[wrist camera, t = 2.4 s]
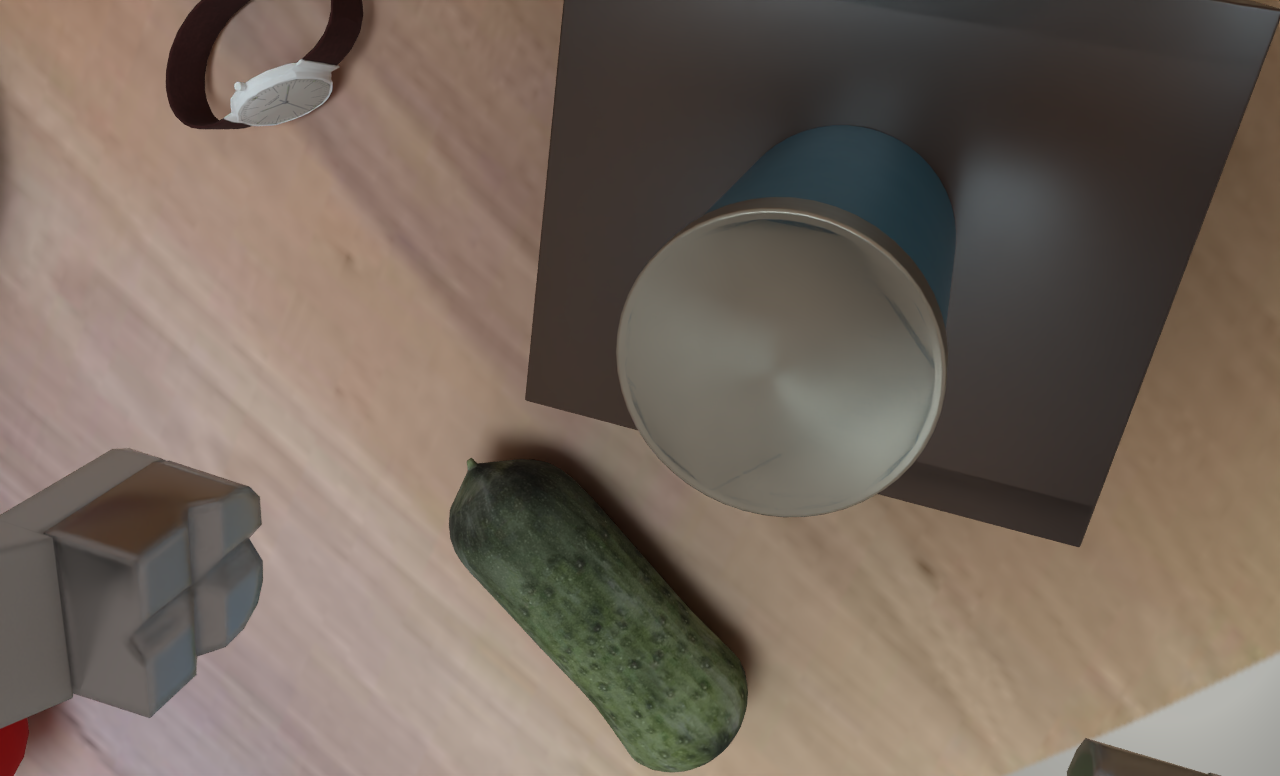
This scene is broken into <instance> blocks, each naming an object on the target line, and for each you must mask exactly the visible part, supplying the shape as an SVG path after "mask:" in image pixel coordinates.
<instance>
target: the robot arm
mask: <svg viewBox="0 0 1280 776" xmlns="http://www.w3.org/2000/svg"><path fill="white" fill-rule="evenodd" d="M261 525H262V522H261V508H260V497H259V496H258V495H257V494H256V493H255V492H254V491H253V490H252V489H251V488H250V487H249V486H246V485H243V484H240V483H236V482H233V481H230V480H227V479H224V478H221V477H218V476H215V475H212V474H209V473H206V472H203V471H200V470H197V469H194V468H190V467H187V466H184V465H181V464H178V463H175V462H172V461H166V460H163V459H161V458H158V457H155V456H152V455H149V454H145V453H142V452H139V451H136V450H133V449H129V448H127V449H112V450H110V451H108V452H107V453H105V454H103V455H101V456H100V457H98V458H96V459H95V460H93V461H91V462H90V463H88V464H86V465H84V466H83V467H81V468H79V469H78V470H76V471H74V472H73V473H71V474H69V475H68V476H66V477H64V478H62V479H61V480H59V481H57V482H56V483H54V484H52V485H51V486H49V487H47V488H45V489H44V490H42V491H40V492H39V493H37V494H35V495H34V496H32V497H30V498H28V499H27V500H25V501H23V502H22V503H20V504H18V505H17V506H15V507H13V508H11V509H10V510H8V511H6V512H5V513H3V514H1V515H0V729H1V728H3V727H6V726H8V725H10V724H13V723H15V722H17V721H20V720H22V719H24V718H27V717H29V716H31V715H34V714H36V713H38V712H41V711H43V710H45V709H48V708H50V707H52V706H55V705H57V704H60V703H62V702H64V701H67V700H69V699H71V698H72V697H73V693H74V694H77V695H80V696H83V697H86V698H90V699H93V700H96V701H99V702H102V703H105V704H108V705H111V706H114V707H117V708H120V709H123V710H127V711H130V712H133V713H136V714H139V715H142V716H145V717H148V718H151V717H152V716H153V715H154V714H155V713H156V712H157V711H158V710H159V709H160V708H161V707H162V706H163V705H164V704H165V703H167V702H168V701H169V700H170V699H171V698H172V697H173V696H174V695H175V694H176V693H177V692H178V691H179V690H180V689H181V688H183V687H184V686H185V685H186V684H187V683H188V682H189V681H190V680H191V679H192V678H193V677H194V676H195V675H196V669H197V656H200V655H203V654H206V653H209V652H212V651H215V650H218V649H221V648H224V647H226V646H227V645H228V644H229V643H230V642H231V641H232V640H233V639H234V638H235V637H236V636H237V635H238V634H239V633H240V632H241V631H242V630H243V629H244V627H245V626H246V624H247V622H248V620H249V618H250V617H251V615H252V613H253V611H254V609H255V607H256V606H257V604H258V600H259V596H260V591H261V587H262V582H263V561H262V559H261V558H260V556H259V554H258V553H257V551H256V549H255V548H254V546H253V544H252V543H251V541H250V539H249V538H250V537H251V536H252V535H253V534H254V532H255V531H256V530H257V529H258V528H259V527H260V526H261ZM1067 776H1220V775H1217V774H1213V773H1208V774H1205V773H1202V772H1198V771H1195V770H1192V769H1188V768H1185V767H1182V766H1178V765H1175V764H1172V763H1168V762H1165V761H1161V760H1158V759H1155V758H1151V757H1148V756H1145V755H1141V754H1138V753H1134V752H1131V751H1128V750H1124V749H1121V748H1117V747H1114V746H1111V745H1107V744H1104V743H1100V742H1097V741H1094V740H1090V739H1087V738H1085V739H1084V741H1083V742H1082V743H1081V745H1080V746H1079V747H1078V749H1077V750H1076V752H1075V755H1074V757H1073V759H1072V762H1071V764H1070V766H1069V768H1068V771H1067Z"/></svg>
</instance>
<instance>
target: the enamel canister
mask: <svg viewBox="0 0 1280 776" xmlns="http://www.w3.org/2000/svg"><path fill="white" fill-rule="evenodd" d="M955 244H956V228H955V219H954V214H953V210H952V205H951V203H950V200H949V197H948V195H947V192H946V190H945V188H944V186H943V184H942V183H941V181H940V179H939V177H938V176H937V175H936V173H935V172H934V170H933V169H932V168H931V166H930V165H929V164H928V163H927V162H926V161H925V160H924V159H923V158H922V157H921V156H920V155H919V154H918V153H916V152H915V151H914V150H913V149H911V148H910V147H909V146H907V145H906V144H904V143H903V142H901V141H899V140H897V139H896V138H894V137H892V136H889V135H887V134H884V133H882V132H880V131H876V130H872V129H869V128H865V127H858V126H850V125H832V126H825V127H817V128H814V129H810V130H807V131H803V132H801V133H798V134H796V135H793V136H791V137H789V138H787V139H785V140H784V141H782V142H780V143H779V144H777V145H775V146H774V147H773V148H772V149H770V150H769V151H768V152H766V153H765V154H764V155H763V156H762V157H761V158H760V159H759V160H758V161H757V162H756V163H755V164H754V165H753V166H752V167H751V168H750V169H749V170H748V171H747V172H746V173H745V174H744V175H743V176H742V177H741V178H740V179H739V180H738V181H737V182H736V183H735V184H734V185H733V186H732V187H731V188H730V189H729V190H728V191H727V192H726V193H725V194H724V195H723V196H722V197H721V198H720V199H719V200H718V201H717V202H716V203H715V204H714V205H713V206H712V207H711V208H710V209H709V210H708V211H707V212H706V213H705V214H704V215H703V216H702V217H700V218H698V219H697V220H695V221H693V222H691V223H690V224H689V225H687V226H686V227H685V228H683V229H682V230H681V231H680V232H678V233H677V234H676V235H674V236H673V237H672V238H671V239H670V240H669V241H668V242H667V243H666V244H665V245H664V246H663V247H662V248H661V249H660V250H659V251H658V252H657V253H656V254H655V255H654V256H653V257H652V259H651V260H650V261H649V262H648V263H647V265H646V266H645V267H644V269H643V270H642V271H641V273H640V274H639V276H638V277H637V279H636V281H635V282H634V284H633V286H632V288H631V290H630V292H629V294H628V296H627V299H626V302H625V305H624V307H623V310H622V313H621V318H620V323H619V327H618V332H617V347H616V356H617V371H618V376H619V381H620V386H621V391H622V394H623V397H624V400H625V403H626V406H627V409H628V411H629V413H630V415H631V417H632V419H633V421H634V424H635V426H636V428H637V429H638V431H639V432H640V434H641V435H642V437H643V438H644V440H645V442H646V443H647V445H648V446H649V447H650V448H651V449H652V451H653V452H654V453H655V454H656V456H657V457H658V458H659V459H660V460H661V461H662V462H663V463H664V464H665V465H666V466H667V467H668V468H669V469H670V470H671V471H672V472H673V473H674V474H676V475H677V476H678V477H680V478H681V479H682V480H683V481H685V482H686V483H687V484H689V485H690V486H692V487H693V488H695V489H697V490H698V491H700V492H701V493H703V494H705V495H706V496H708V497H711V498H713V499H715V500H717V501H719V502H721V503H723V504H726V505H729V506H732V507H735V508H738V509H741V510H743V511H748V512H752V513H757V514H761V515H768V516H778V517H807V516H815V515H822V514H827V513H831V512H835V511H839V510H843V509H846V508H848V507H851V506H853V505H856V504H858V503H861V502H863V501H865V500H867V499H869V498H871V497H872V496H874V495H876V494H878V493H879V492H881V491H883V490H884V489H885V488H887V487H888V486H889V485H891V484H892V483H893V482H895V481H896V480H897V479H898V478H899V477H900V476H901V475H902V474H903V473H904V472H905V471H906V470H907V469H908V468H909V467H910V466H911V465H912V464H913V463H914V462H915V460H916V459H917V458H918V456H919V455H920V454H921V452H922V451H923V450H924V448H925V446H926V445H927V443H928V441H929V439H930V437H931V436H932V434H933V432H934V430H935V427H936V424H937V421H938V419H939V416H940V413H941V410H942V405H943V400H944V396H945V390H946V380H947V367H948V346H947V334H946V323H947V314H948V306H949V297H950V289H951V281H952V272H953V264H954V255H955Z"/></svg>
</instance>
